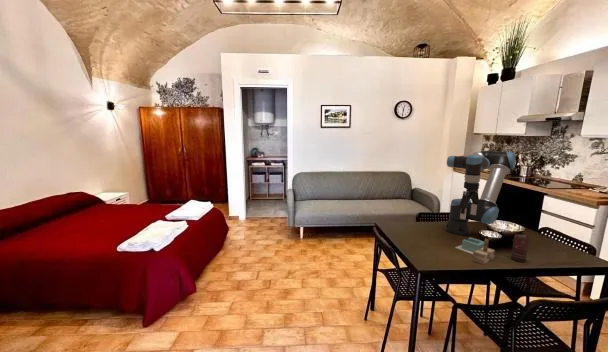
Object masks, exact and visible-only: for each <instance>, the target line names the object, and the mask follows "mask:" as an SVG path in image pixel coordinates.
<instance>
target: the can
mask: <svg viewBox="0 0 608 352" xmlns="http://www.w3.org/2000/svg"><path fill="white" fill-rule="evenodd" d="M529 243H530V237H529V235H527V234H522V233H515V234H514V237H513V242H512V250H511V260H513V261H516V262H519V263H525V262H526V261H527V255H528V254H527V253H528V247H529Z"/></svg>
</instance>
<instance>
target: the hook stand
mask: <svg viewBox="0 0 608 352" xmlns="http://www.w3.org/2000/svg"><path fill="white" fill-rule="evenodd" d="M489 241H490V239H489V238H484V247H483V248H481V249H479V250H477V251H475V252H473V254H472V260H471V261H472V262H475V263H477V264H480V265H482V266H483V265H485V264H487V263H488V262H489V263H490V261H493V260H494V259H495V253H496V250H495V249H493V248H489Z"/></svg>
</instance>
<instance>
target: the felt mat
mask: <svg viewBox="0 0 608 352" xmlns="http://www.w3.org/2000/svg"><path fill="white" fill-rule="evenodd" d="M454 248H455V249H456V250H459V251H461V252H465V253H468V254H470V255H473V252H471V251H468V250H465V249H463V248H462V244H461V245H457V246H455V247H454Z"/></svg>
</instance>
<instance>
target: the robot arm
mask: <svg viewBox="0 0 608 352" xmlns="http://www.w3.org/2000/svg"><path fill="white" fill-rule="evenodd" d="M516 160H517V159H516V154H515V152H512V151H502V150H501V151H498V150H497V151H496V150H482V151H477V152H473V153H471V154H465V155H463V154H462V155H449V156H448V157H447V158H446V166H447V167H448V168H453V169H465V172H464V175H463V177H464V183H463V188H464V189H466V190H463V191H462V197H461V198H453V199H451V201H450V207H449V208H450V209H449V217H448V221H447V223H446V224H445V227H444V228H445V229H446V230H447V231H446V230H445V231H446V232H448V231H449V232H448V233H450V232H451V233H450V234H453V233H454V235H457V234H458V235H459V236H469V235H471V228H470V224H469V220H470V221H474V222H476V223H482V224H486V225H492V224H494V223H495V222H496V221H497V218H498V217H499V212H500V209H499V207H498V205H497V203H496V202H497V200H498V196H499V194H500V191H501V189H502V185H503V182H504V180H505V178H506V174H509V173H510V171H511V170H514V169H515V168H516V164H517V163H516V162H517V161H516ZM487 169H489V174H488V177H487V179H486V182H485V185H484V187H483V190H482V192H481V195H480V197H479V188H480V182H481V181H480V180H481V172H482V171H485V170H487Z"/></svg>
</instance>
